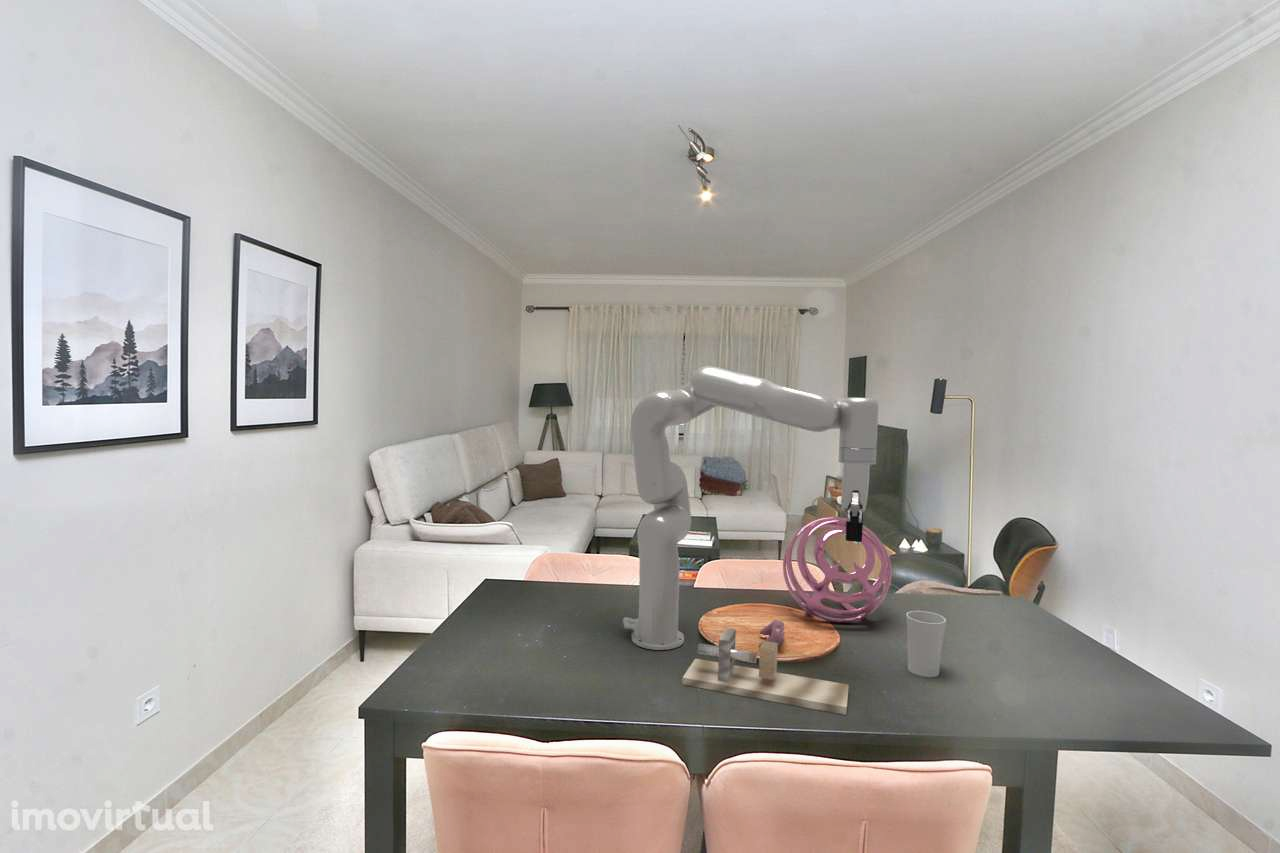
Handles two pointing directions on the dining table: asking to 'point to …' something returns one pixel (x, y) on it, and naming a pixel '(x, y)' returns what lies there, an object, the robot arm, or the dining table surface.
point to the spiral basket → (837, 573)
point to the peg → (750, 657)
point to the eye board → (764, 682)
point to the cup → (924, 642)
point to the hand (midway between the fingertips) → (854, 536)
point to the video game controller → (774, 632)
